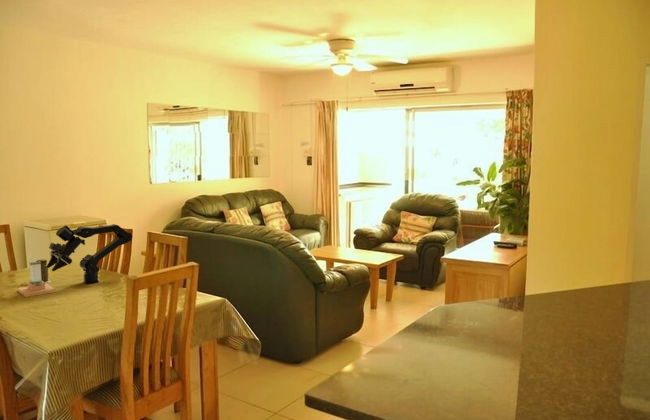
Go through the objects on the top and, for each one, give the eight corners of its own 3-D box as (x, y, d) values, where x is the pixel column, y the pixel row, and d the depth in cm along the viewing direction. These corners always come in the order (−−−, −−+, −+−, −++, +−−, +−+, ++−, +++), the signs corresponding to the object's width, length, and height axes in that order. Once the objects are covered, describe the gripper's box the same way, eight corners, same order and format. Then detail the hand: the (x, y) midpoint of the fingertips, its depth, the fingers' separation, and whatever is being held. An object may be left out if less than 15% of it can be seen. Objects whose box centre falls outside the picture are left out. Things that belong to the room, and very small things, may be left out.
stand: (47, 286, 273) (46, 277, 273) (55, 291, 263) (54, 282, 263) (18, 291, 263) (17, 281, 263) (25, 296, 253) (24, 287, 253)
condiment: (48, 279, 289) (47, 258, 287) (51, 282, 282) (50, 261, 281) (33, 280, 284) (32, 260, 283) (36, 284, 278) (35, 262, 276)
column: (40, 279, 266) (39, 261, 265) (42, 281, 263) (41, 262, 262) (29, 281, 263) (28, 262, 261) (32, 283, 259) (31, 263, 258)
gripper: (53, 234, 275) (32, 257, 269) (64, 239, 262) (42, 263, 255) (69, 247, 281) (49, 269, 275) (81, 252, 268) (59, 275, 262)
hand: (49, 269), depth 267 cm, fingers open, 9 cm apart
